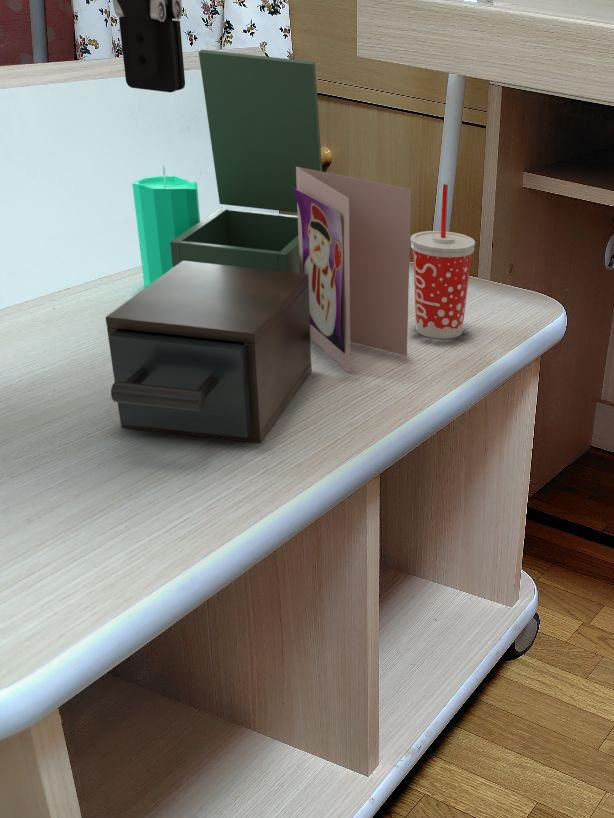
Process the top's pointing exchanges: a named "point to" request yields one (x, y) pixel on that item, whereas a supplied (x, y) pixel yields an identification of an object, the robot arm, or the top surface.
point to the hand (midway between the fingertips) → (156, 87)
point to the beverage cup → (441, 278)
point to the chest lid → (260, 126)
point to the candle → (162, 219)
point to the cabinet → (233, 327)
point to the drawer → (181, 383)
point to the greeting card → (354, 261)
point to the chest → (241, 241)
